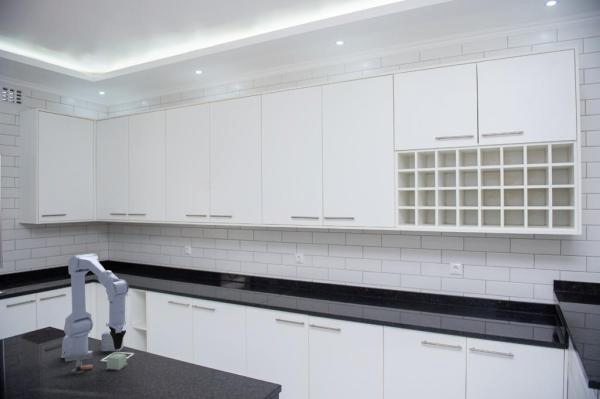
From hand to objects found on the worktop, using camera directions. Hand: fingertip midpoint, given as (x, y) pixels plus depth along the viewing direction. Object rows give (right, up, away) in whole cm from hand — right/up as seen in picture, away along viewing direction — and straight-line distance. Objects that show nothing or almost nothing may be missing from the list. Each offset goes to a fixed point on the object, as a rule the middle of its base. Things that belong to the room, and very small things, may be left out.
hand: (117, 345), depth 154 cm
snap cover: (0, -8, 0) cm, 8 cm away
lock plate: (-7, -9, -2) cm, 12 cm away
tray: (-4, -9, +9) cm, 13 cm away
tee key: (-13, -8, -4) cm, 16 cm away
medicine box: (-10, -10, +18) cm, 23 cm away
